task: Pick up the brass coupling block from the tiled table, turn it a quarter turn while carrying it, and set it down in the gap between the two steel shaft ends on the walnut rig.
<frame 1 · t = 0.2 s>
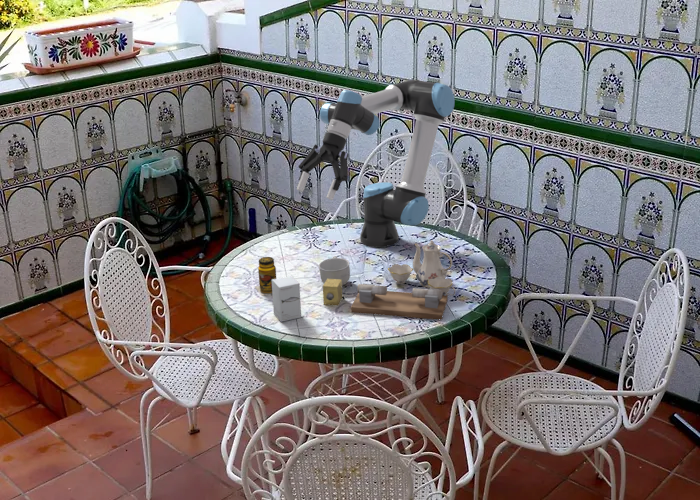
hand: (314, 194, 280), 35 cm above the table, tool tilted 35°, fingers open, 13 cm apart
rig: (399, 306, 281), on the table
condiment: (268, 290, 296), on the table
teacup: (335, 282, 300), on the table
supplement box: (287, 316, 277), on the table
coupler: (333, 301, 286), on the table
chinaware: (426, 286, 295), on the table
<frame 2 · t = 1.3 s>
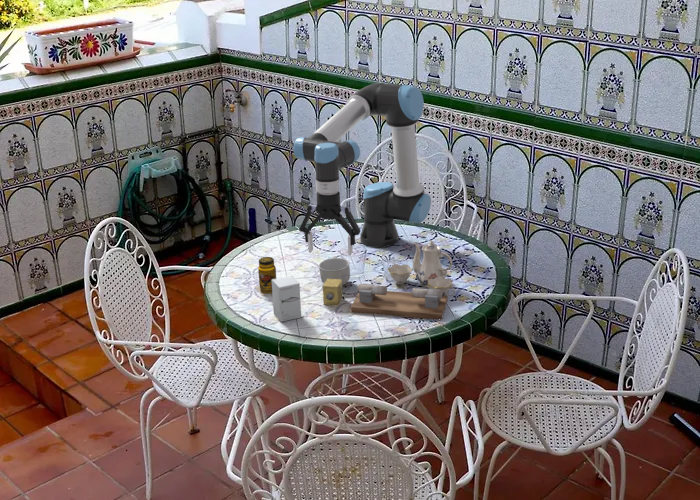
hand: (330, 252, 279), 18 cm above the table, tool pointing down, fingers open, 13 cm apart
nothing on the table moved.
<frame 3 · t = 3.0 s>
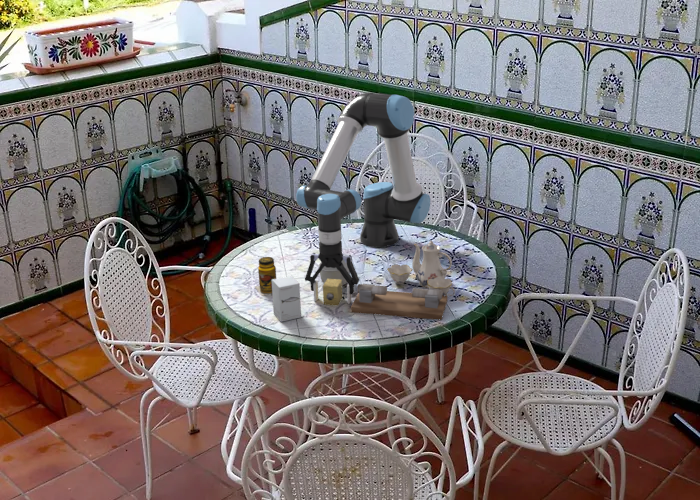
hand: (332, 300, 286), 0 cm above the table, tool pointing down, fingers open, 11 cm apart
nothing on the table moved.
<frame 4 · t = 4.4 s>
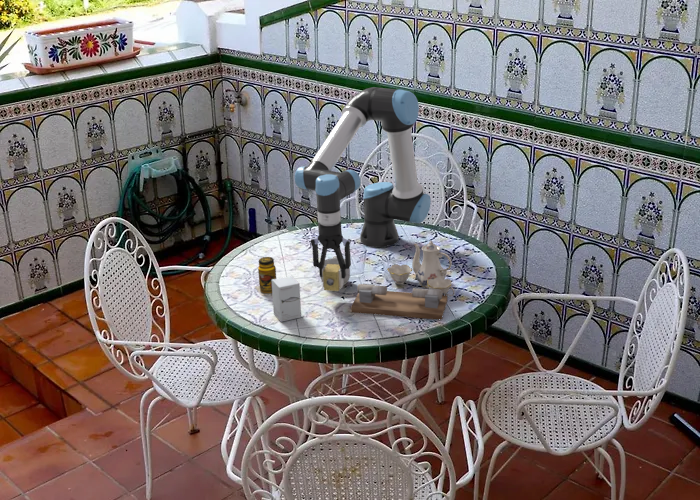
hand: (333, 285, 284), 6 cm above the table, tool pointing down, fingers closed on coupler, 5 cm apart
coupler: (333, 286, 285), point 5 cm above the table, touching gripper
everything else where it was.
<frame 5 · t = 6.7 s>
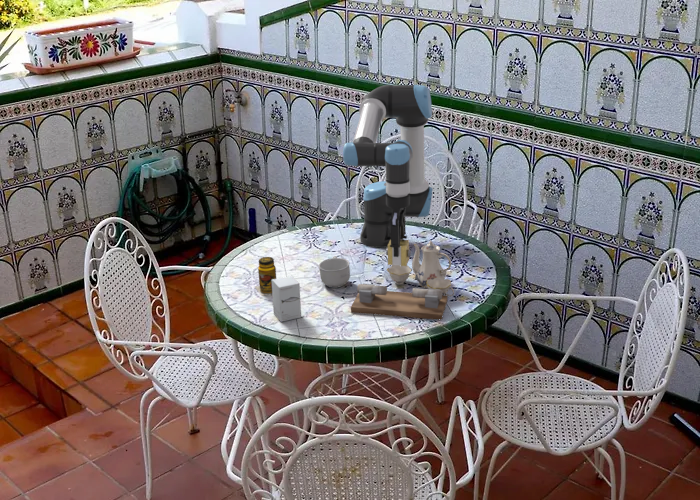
hand: (398, 261, 274), 17 cm above the table, tool pointing down, fingers closed on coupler, 5 cm apart
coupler: (398, 262, 274), point 16 cm above the table, touching gripper
everything else where it was.
when the fingers open (3 cm above the table, at t = 9.0 s): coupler stays where it is, resting on rig.
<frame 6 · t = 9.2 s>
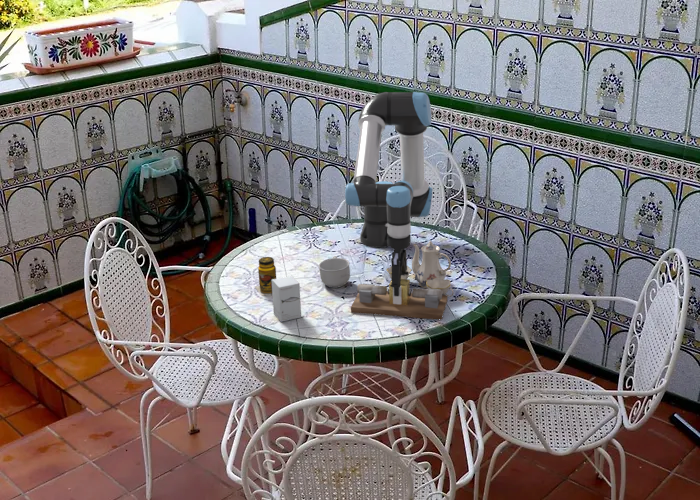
hand: (399, 298, 279), 3 cm above the table, tool pointing down, fingers open, 7 cm apart
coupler: (399, 301, 280), point 2 cm above the table, touching rig
everything else where it was.
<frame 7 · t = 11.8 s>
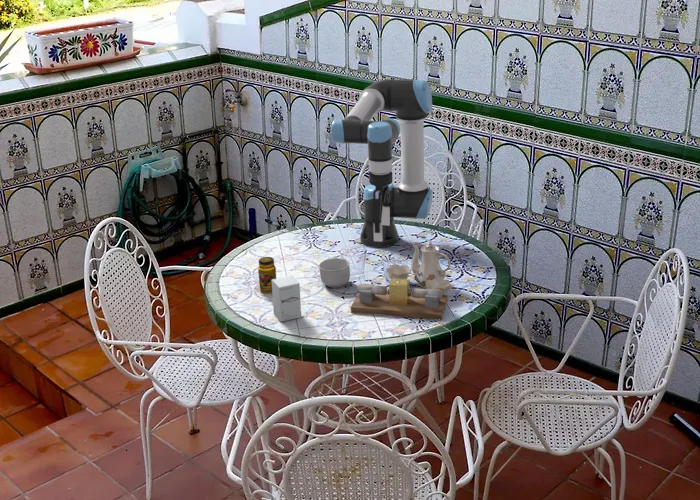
hand: (382, 232, 277), 24 cm above the table, tool pointing down, fingers open, 13 cm apart
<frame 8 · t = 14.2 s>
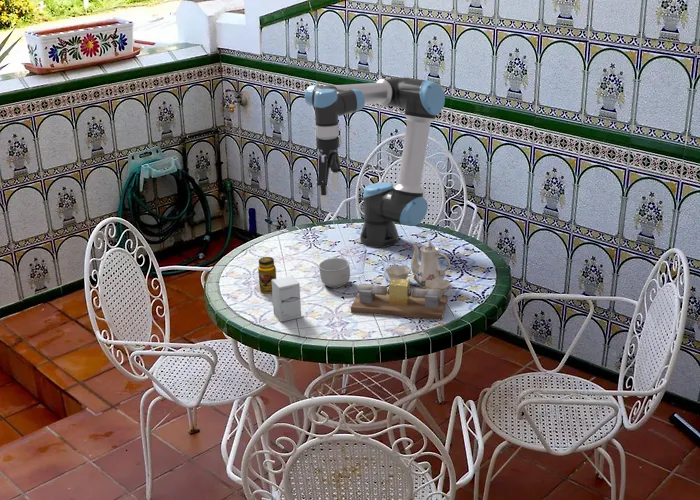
hand: (330, 196, 289), 32 cm above the table, tool pointing down, fingers open, 13 cm apart
at the end: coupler 0.0 cm off-centre on the rig, point 2.0 cm above the rig's base; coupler tilted 0°; the gripper is holding nothing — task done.
